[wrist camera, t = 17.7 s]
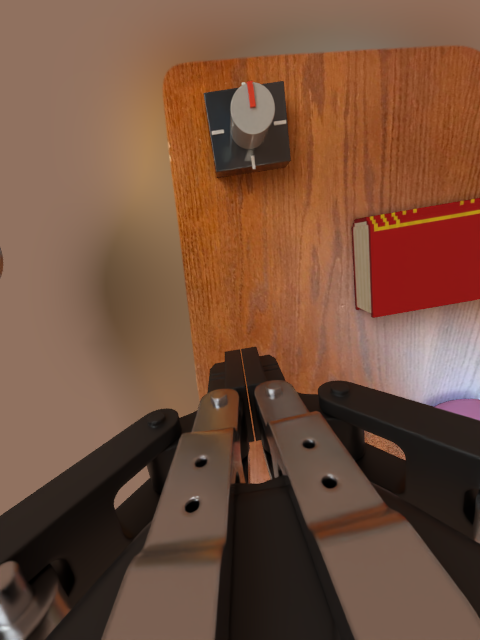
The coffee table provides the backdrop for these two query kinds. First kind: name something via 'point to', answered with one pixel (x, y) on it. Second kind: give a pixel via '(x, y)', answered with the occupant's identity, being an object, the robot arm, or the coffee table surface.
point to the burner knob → (251, 115)
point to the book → (417, 258)
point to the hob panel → (236, 158)
